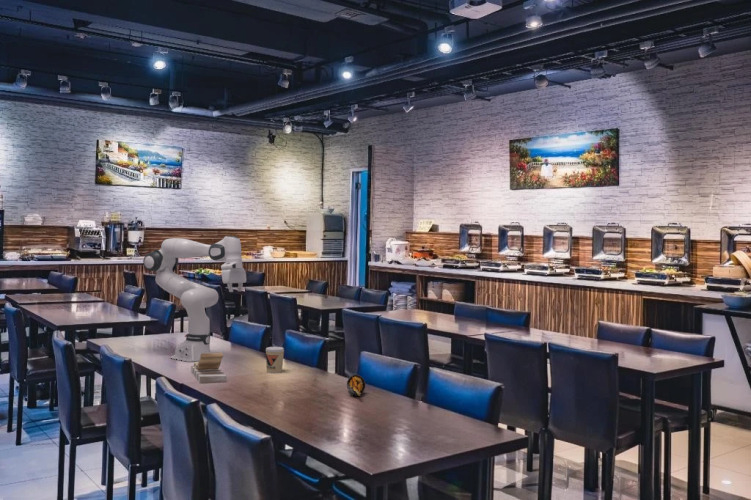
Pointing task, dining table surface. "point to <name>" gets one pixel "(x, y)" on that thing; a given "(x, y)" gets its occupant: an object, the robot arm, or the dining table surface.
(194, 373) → the floor base
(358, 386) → the fried shrimp in bowl
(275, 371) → the coffee cup
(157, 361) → the dining table surface
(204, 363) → the plank
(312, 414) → the dining table surface
